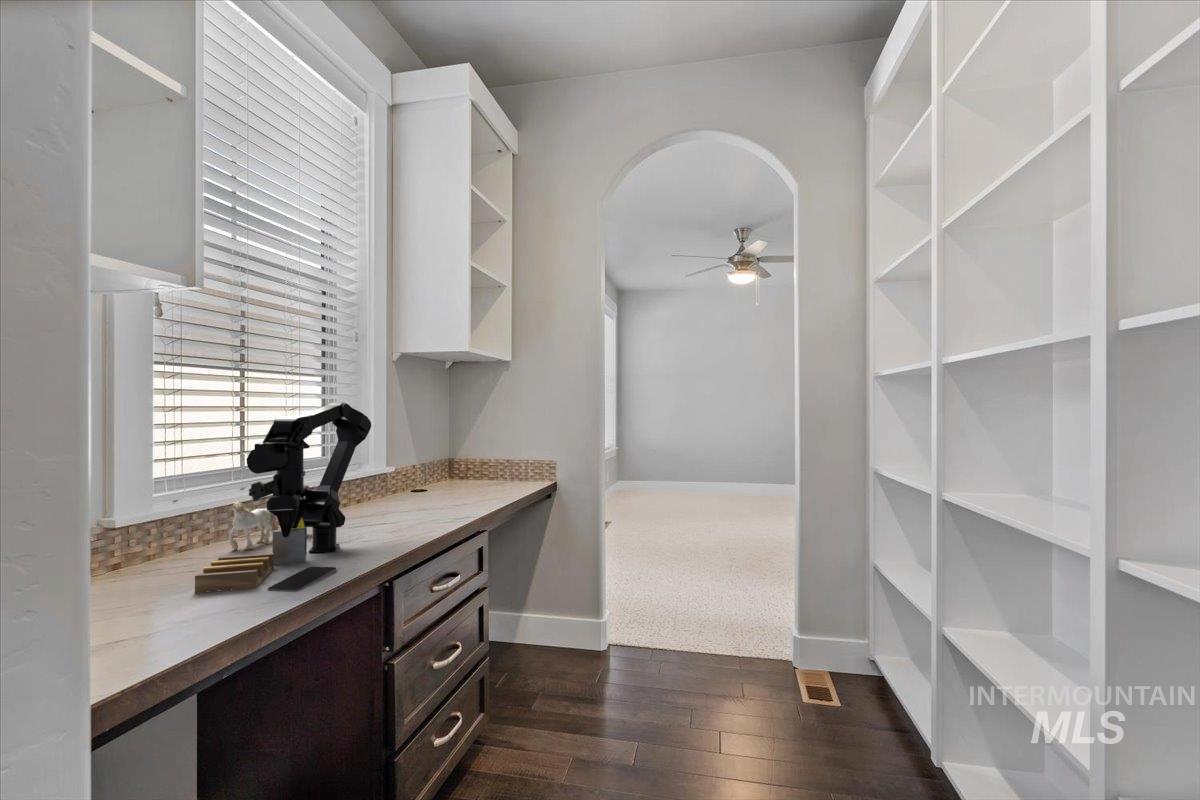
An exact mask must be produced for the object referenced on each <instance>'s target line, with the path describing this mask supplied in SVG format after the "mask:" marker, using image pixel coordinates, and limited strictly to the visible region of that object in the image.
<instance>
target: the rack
mask: <svg viewBox="0 0 1200 800" xmlns="http://www.w3.org/2000/svg"><path fill="white" fill-rule="evenodd" d="M274 569H275V565H274V553H273V552H272V553H257V554H244V555H231V556H230V555H229V556H228V555H227V556H219V557H218V558H217V560H212V561H211V562H210V566H204V567H203V569H202V571H203V573H197V574H196V575H194V594H199V593H198V592H202V593H208V592H207V591H215V592H219V591H218V590H227V591H234V590H233V589H239V590H249V588H251V589H256V588H258V587H259V585H260V584H261V583H262V582H263V581H264V580H265V579H266V578H267V576H268V575H269V574H271V572H272V571H273V570H274ZM231 589H232V590H231Z"/></svg>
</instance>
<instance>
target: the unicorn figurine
mask: <svg viewBox="0 0 1200 800" xmlns="http://www.w3.org/2000/svg"><path fill="white" fill-rule="evenodd" d="M246 505H247V504H244V502H243V501H242V502H240V501H235V502H233V504H232V511H234V518H233V520H232V526H233V527H232V529H231V531H230V533H229V535H228V539H229V542H230V544H229V545H230V546H231V549H232V550H233V551H236V550H238V549H239V545H238V541H237V540H236V539H234V536H235V534H236V533H237V532H238V531H239V530H243V531H244V534H245V539H246V540H247V541H246V543H247V544H246V546H245V548H244V551H249V550H251V548H252V547H253V541H252V540H251V535H250V532H249V529H252V528H255V527H258V528H259V530H260V537H259V538H258V539H257V541H256V544H262V543H263V542H264V545H265V546H267V545H268V544H269V542H270V540H269V539H270V537H271V536H270V533H271V532H272V533H273V531H274V530H279V529H280V526H279V525H277V524H279V521H276V520H277V516H275V515H274V514H272V513H270V512H269V510H266V507H264V508H256V509H254V510H252V511H250V510H249V509H248V508H247V507H246ZM265 528H266V531H265Z"/></svg>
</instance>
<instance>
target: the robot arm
mask: <svg viewBox="0 0 1200 800" xmlns="http://www.w3.org/2000/svg"><path fill="white" fill-rule="evenodd" d="M330 423H332V425H333V426H334V427H335V428H336V429H335V432H336V437H337V442H336V445H335V447H334V449H333V452H332V454H331V456H330V459H329V461H328V464H327V466H326V468H325V471H324V473H323V475H322V478H321V480H320V483H319V485H318V487H317V488H316V489H313V490H312V488H311V487H310V486H309V485H304V483H305V482H304V477H305V476H306V470H304V449H310V445H309V444H308V443H307V442H306V441H304V440H305V439H307V438H308V437H309V436H311V435H312V434H313V432H314V430H315V429H318V428H319V427H323V426H325V425H327V424H330ZM371 428H372V421H371V420H370V419H369V417H368V416H367V415H365V414H364V412H361V411H359V410H358V409H356V408H353V407H352V406H350V405H349V404H348V403H346V402H331V403H328V404H327V405H325V406H321V407H319V408H316V409H314V410H311V411H308V412H306V413H303V414H297V415H296V414H295V415H286V416H284V415H283V416H278V417H276V418H275V419H274V420H273V423H272V425H271V426H270V428H269V430H268V432H267V433H266V436H265V438H264V440H263V441H262V442H261V443H260V442H259V443H257V442H256V443H254V449H252V450H251V451H250V452H249V453H248V456H247V458H246V465H247V468H248V469H249V470H250V471H251V473H253V474H255V475H256V474H265V473H271V472H276V473H275V474H274V475H273V476H272V479H271V480H268V481H265V482H262V481H259V480H258V481H257V482H254V483H251V485H250V486H251V487H250V488H249V489H248V496H249V497H251V498H252V501H253V502H257V501H259V500H260V499H263V498H266V497H267V496H270V495H272V496H271V497H269V499H268V500H267V501H265V502H266V506H265V508H266V510H269V512H270V513H272V514H274V515H275V517H276V520H277V522H278V526H279V529H280V530H281V531H282V535H283V537H288V536H289V534H290V532H291V529H295V528H297V527H298V524H299V522H300V520H301V517H302V519H303V522H304V526H305V527H307V528H312V534H311V535H312V536H311V537H312V544H311V545H312V546H311V548H310V549H309V550H308V553H309V554H313V553H327V552H328V553H329V552H336V551H337V550H338V549H339V547H340V543H337V528H342V526H344V525H345V522H346V516H345V515H344V514H343V512H342V511H341V510H340V504H341V501H340V496H339V490H340V488H341V485H342V483H343V481H344V478H345V476H346V473H347V470H348V468H349V466H350V463H351V460H352V458H353V455H354V453H355V450H356V448H357V446H359V445H360V444H362V442H363V441H365V440H366V439H367V437H368V436H369V435H368V434H369V433H370V430H371Z"/></svg>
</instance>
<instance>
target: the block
mask: <svg viewBox="0 0 1200 800" xmlns="http://www.w3.org/2000/svg"><path fill="white" fill-rule="evenodd" d="M307 532H308V527H307V528H302V529H291V532H290V534H289V536H288V537H283V535H282V531H281V529H278V530H274V531H273V532H272V553H274V566H279V565H292V564H295V565H296V564H305V563H306V562H307V561H308V560H307V551H308V550H307V548H308V547H307V544H308V543H307V541H308V540H307V535H308V534H307Z"/></svg>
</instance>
